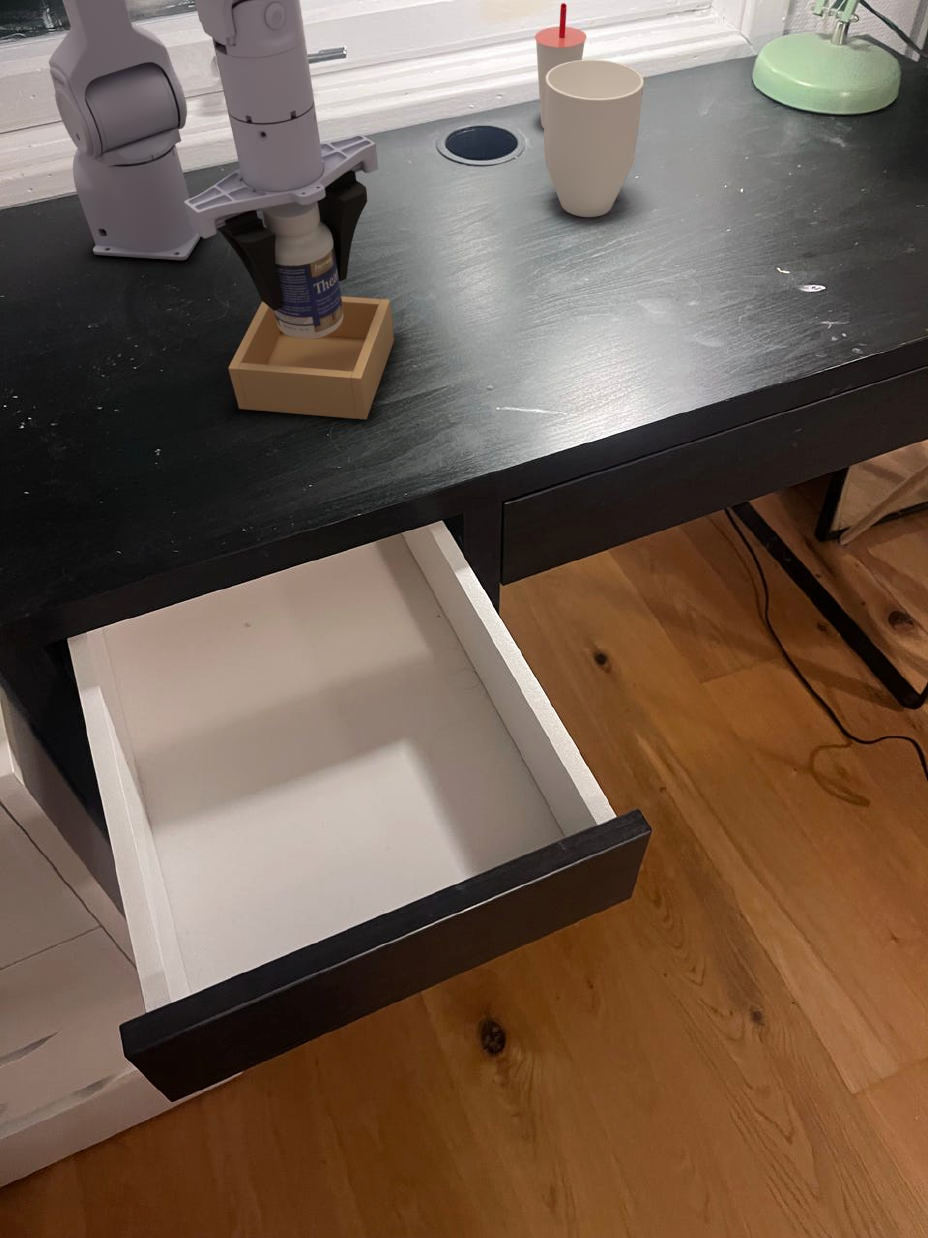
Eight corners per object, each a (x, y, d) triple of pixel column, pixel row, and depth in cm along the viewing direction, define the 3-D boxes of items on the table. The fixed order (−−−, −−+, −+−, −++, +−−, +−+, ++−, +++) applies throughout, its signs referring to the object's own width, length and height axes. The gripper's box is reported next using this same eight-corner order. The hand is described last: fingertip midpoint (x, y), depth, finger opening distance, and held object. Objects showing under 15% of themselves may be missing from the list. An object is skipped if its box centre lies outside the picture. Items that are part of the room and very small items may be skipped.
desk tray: (238, 408, 77) (227, 367, 74) (275, 331, 84) (267, 290, 80) (366, 419, 76) (360, 378, 73) (394, 340, 82) (390, 299, 79)
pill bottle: (333, 344, 74) (314, 225, 66) (267, 338, 75) (241, 219, 67) (352, 305, 77) (336, 187, 69) (289, 299, 78) (266, 182, 70)
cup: (578, 136, 105) (586, 13, 95) (529, 134, 105) (532, 12, 96) (582, 114, 108) (590, -7, 99) (535, 112, 109) (538, -8, 99)
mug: (645, 218, 94) (661, 88, 84) (561, 235, 92) (568, 105, 83) (596, 164, 101) (606, 39, 91) (518, 180, 99) (520, 54, 90)
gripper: (203, 162, 58) (249, 350, 69) (395, 91, 64) (410, 276, 74) (150, 122, 62) (201, 307, 72) (336, 59, 67) (358, 239, 78)
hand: (304, 289), depth 74 cm, fingers closed on pill bottle, 5 cm apart
